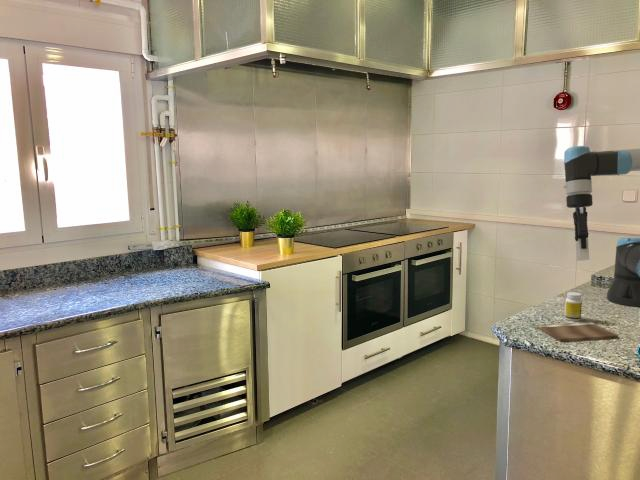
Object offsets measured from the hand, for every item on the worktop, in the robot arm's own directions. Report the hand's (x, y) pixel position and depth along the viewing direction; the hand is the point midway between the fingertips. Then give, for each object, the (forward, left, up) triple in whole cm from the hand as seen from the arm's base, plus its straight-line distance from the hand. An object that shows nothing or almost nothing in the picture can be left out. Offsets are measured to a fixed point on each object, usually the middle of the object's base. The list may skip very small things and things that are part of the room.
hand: (582, 260), depth 165 cm
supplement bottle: (+4, +3, -19) cm, 19 cm away
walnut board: (+11, +15, -19) cm, 26 cm away
